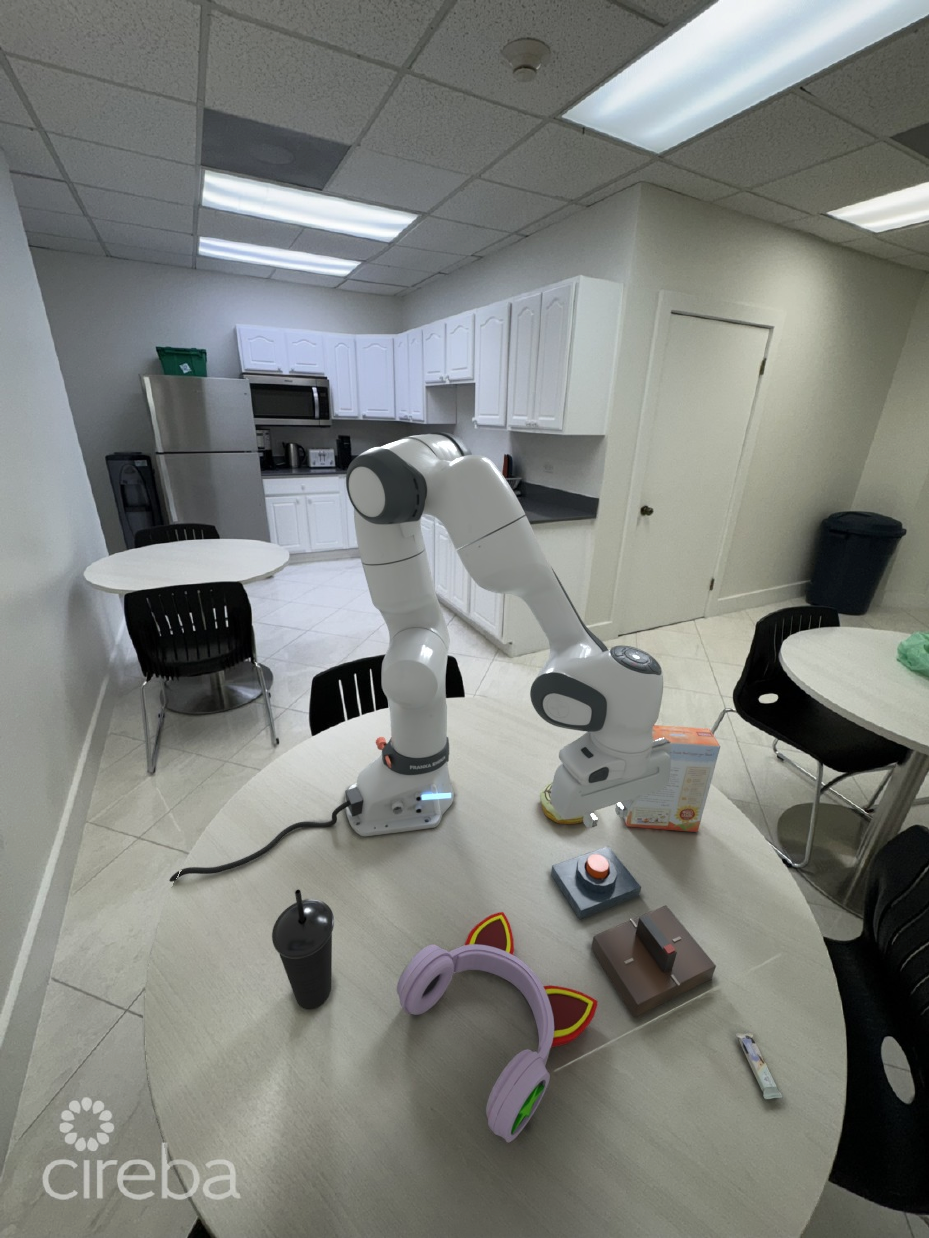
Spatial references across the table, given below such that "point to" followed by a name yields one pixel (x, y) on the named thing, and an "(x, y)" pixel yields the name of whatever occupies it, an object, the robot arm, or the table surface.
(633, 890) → the button box
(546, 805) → the decorated donut
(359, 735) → the table surface
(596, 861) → the button
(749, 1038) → the granola bar
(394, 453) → the robot arm
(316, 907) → the drinking cup
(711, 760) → the cracker box
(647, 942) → the handle
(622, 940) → the panel
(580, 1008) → the headphones
